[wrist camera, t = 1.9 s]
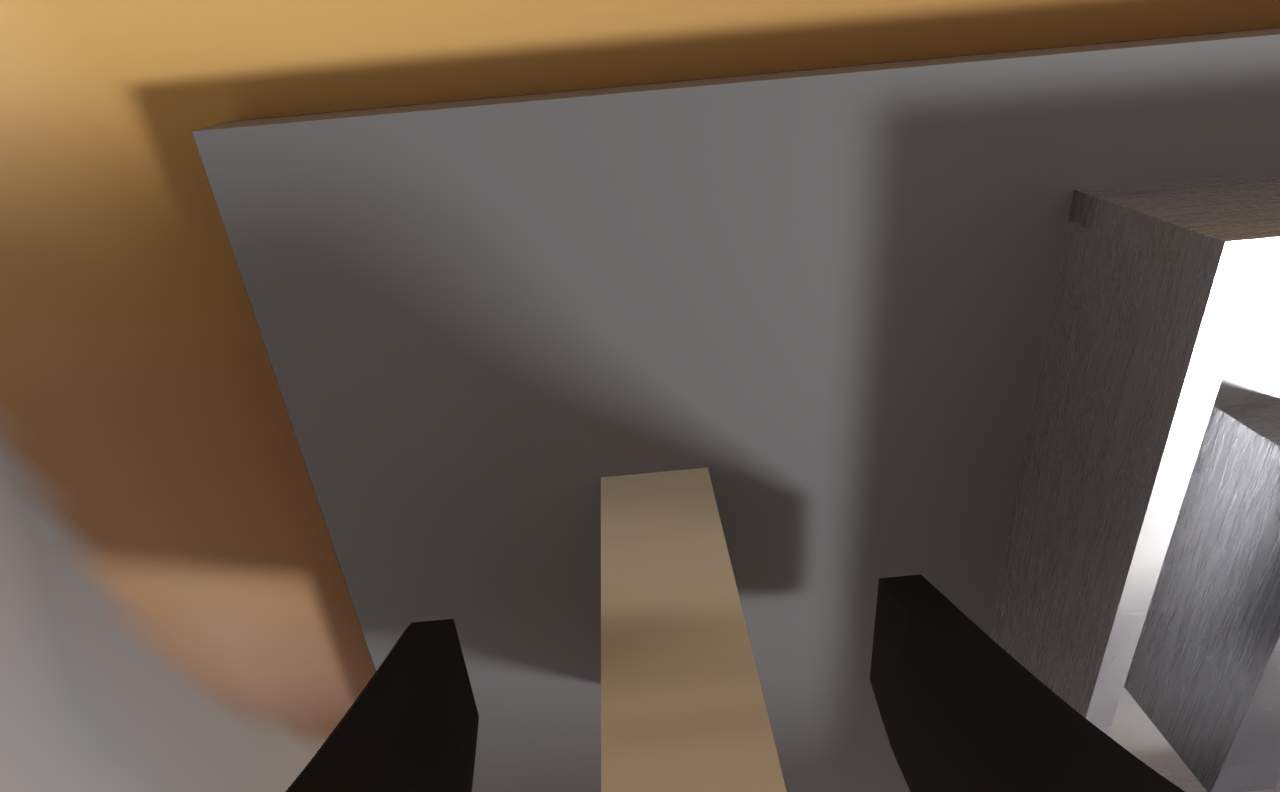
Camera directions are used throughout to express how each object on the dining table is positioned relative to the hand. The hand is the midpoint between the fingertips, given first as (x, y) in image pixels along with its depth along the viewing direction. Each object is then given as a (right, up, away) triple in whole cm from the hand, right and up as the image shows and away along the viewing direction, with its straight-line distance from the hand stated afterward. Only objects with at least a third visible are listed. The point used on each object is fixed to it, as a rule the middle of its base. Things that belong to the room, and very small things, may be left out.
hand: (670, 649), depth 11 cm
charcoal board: (+5, +1, +2) cm, 6 cm away
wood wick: (0, +1, +1) cm, 1 cm away
